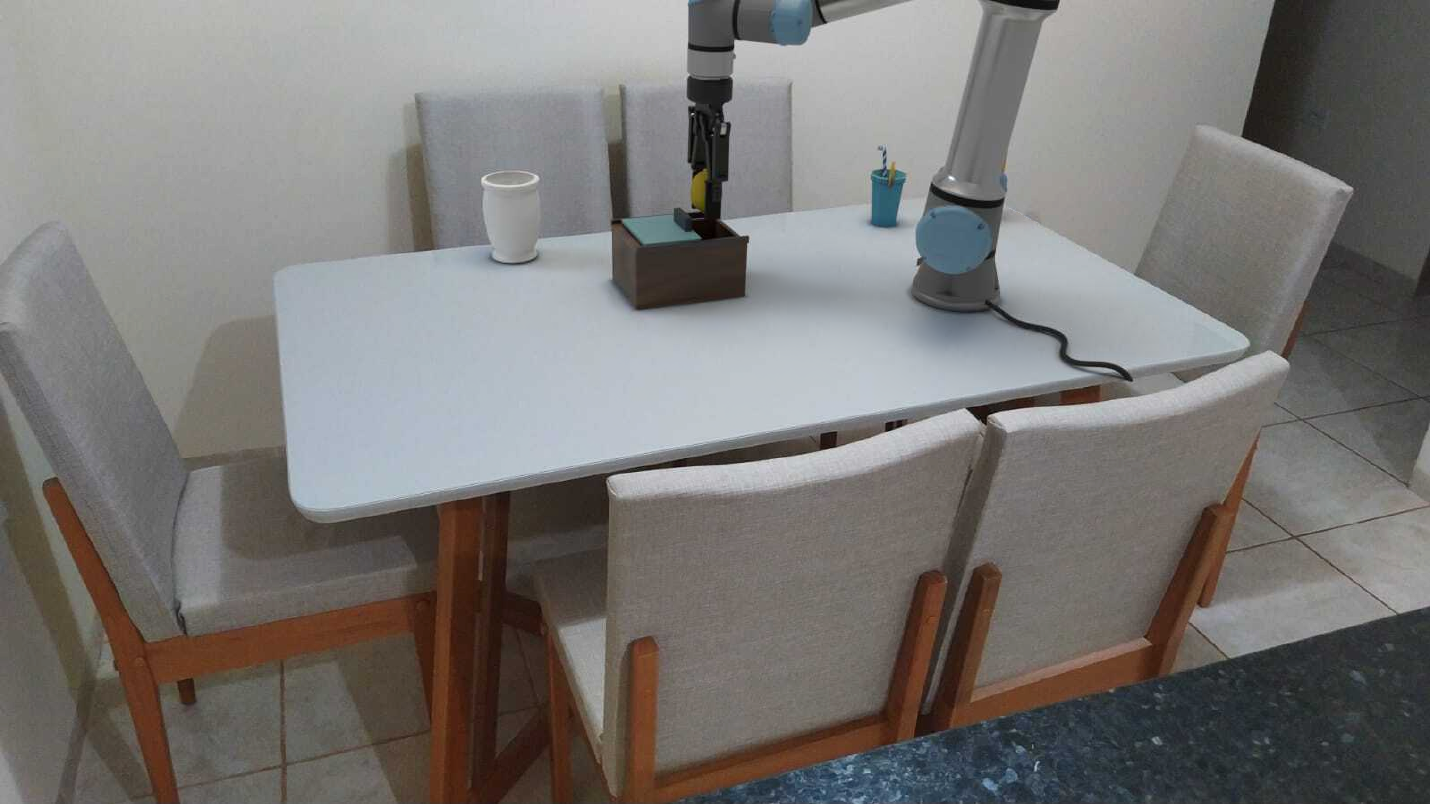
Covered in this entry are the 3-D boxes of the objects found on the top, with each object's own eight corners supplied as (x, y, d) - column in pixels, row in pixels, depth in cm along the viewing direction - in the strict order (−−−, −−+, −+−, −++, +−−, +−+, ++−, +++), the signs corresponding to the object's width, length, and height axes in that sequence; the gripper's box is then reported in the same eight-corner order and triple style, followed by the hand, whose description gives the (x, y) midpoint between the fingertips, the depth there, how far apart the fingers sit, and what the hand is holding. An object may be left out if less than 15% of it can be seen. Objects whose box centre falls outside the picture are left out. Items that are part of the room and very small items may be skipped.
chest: (746, 297, 183) (749, 236, 178) (637, 311, 176) (637, 248, 171) (714, 267, 196) (716, 209, 190) (611, 279, 189) (610, 219, 183)
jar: (512, 243, 204) (507, 167, 197) (554, 253, 199) (550, 176, 192) (474, 258, 196) (468, 179, 189) (517, 270, 191) (512, 190, 184)
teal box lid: (701, 241, 176) (702, 224, 175) (645, 247, 173) (645, 229, 171) (675, 217, 187) (675, 201, 185) (621, 222, 183) (621, 205, 182)
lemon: (703, 221, 178) (704, 175, 174) (683, 213, 182) (684, 167, 178) (728, 216, 181) (730, 170, 177) (707, 207, 185) (709, 162, 181)
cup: (855, 212, 228) (861, 143, 220) (889, 211, 229) (896, 142, 222) (874, 233, 215) (882, 161, 208) (910, 232, 217) (919, 160, 210)
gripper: (754, 86, 164) (746, 228, 175) (710, 63, 179) (706, 195, 190) (709, 88, 162) (705, 232, 173) (669, 65, 177) (667, 199, 188)
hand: (705, 213), depth 181 cm, fingers closed on lemon, 5 cm apart
